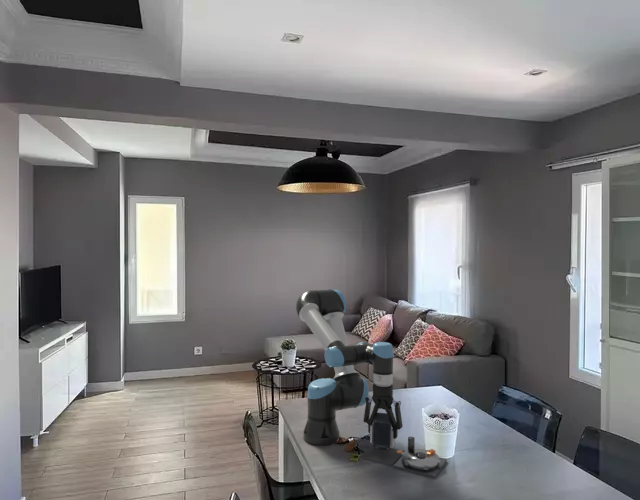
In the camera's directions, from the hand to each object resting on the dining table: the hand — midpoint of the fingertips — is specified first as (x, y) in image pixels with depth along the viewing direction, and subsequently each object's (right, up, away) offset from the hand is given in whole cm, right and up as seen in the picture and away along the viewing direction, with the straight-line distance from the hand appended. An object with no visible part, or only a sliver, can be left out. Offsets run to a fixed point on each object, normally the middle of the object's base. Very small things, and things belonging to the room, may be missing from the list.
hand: (382, 443), depth 175 cm
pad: (0, -4, 0) cm, 4 cm away
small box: (0, -1, 0) cm, 1 cm away
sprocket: (+13, -3, -7) cm, 15 cm away
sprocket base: (+13, -4, -7) cm, 16 cm away
